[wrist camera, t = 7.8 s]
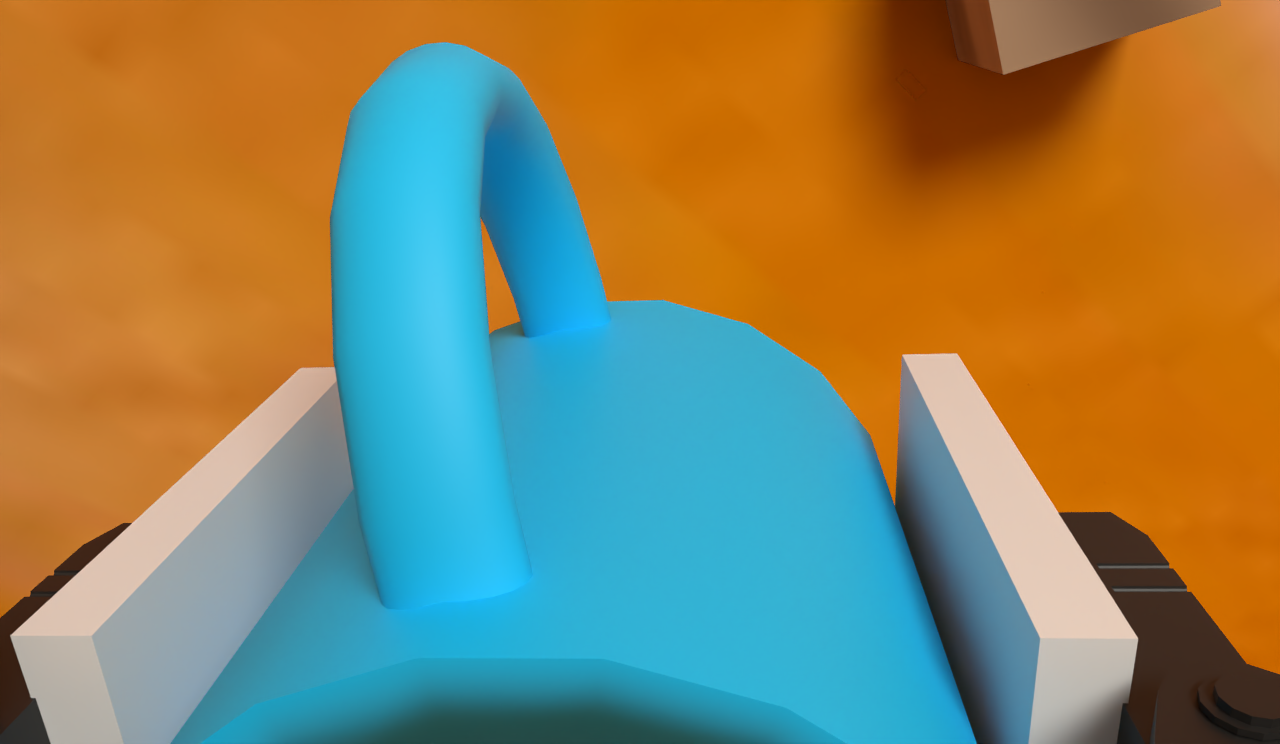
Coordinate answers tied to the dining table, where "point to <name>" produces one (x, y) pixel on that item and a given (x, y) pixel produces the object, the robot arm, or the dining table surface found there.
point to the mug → (568, 487)
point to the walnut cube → (1052, 27)
